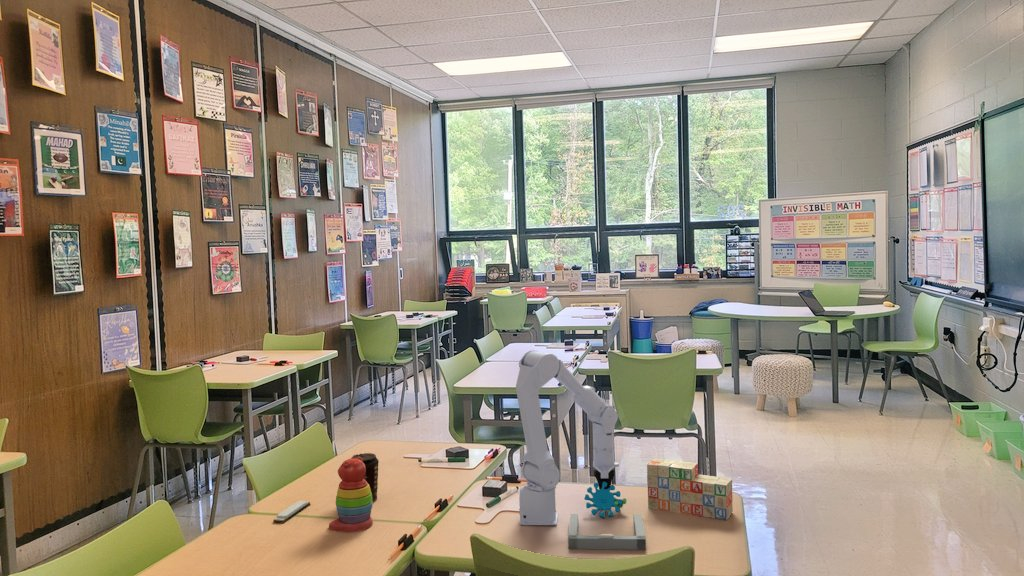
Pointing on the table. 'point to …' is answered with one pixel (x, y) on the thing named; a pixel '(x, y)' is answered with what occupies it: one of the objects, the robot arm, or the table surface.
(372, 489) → the coffee cup
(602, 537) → the gear frame
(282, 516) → the harmonica
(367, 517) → the stacking bear
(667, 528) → the table surface
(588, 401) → the robot arm
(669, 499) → the stack of blocks
